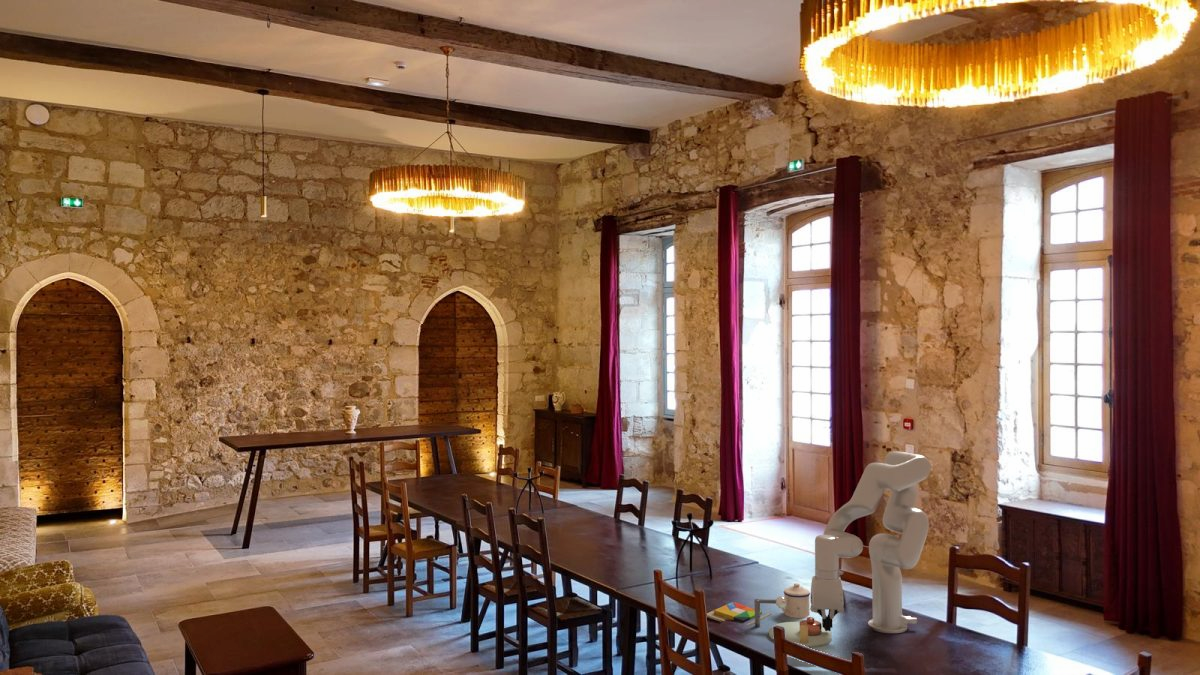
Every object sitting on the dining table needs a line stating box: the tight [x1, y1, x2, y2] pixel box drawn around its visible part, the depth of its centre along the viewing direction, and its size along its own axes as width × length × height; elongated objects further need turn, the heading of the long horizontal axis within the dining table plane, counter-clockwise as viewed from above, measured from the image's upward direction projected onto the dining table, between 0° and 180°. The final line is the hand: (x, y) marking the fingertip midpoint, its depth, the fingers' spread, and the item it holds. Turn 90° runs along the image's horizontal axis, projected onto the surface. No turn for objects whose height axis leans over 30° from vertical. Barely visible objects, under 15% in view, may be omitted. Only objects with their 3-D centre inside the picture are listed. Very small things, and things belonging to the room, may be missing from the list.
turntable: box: [768, 621, 833, 648], centre depth 282 cm, size 20×20×6 cm
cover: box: [799, 616, 822, 636], centre depth 282 cm, size 7×7×5 cm
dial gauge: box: [753, 596, 787, 628], centre depth 292 cm, size 12×5×11 cm, turn 85°
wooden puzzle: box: [706, 601, 772, 627], centre depth 305 cm, size 18×19×4 cm
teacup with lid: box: [780, 582, 811, 619], centre depth 304 cm, size 12×9×12 cm
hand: (827, 629), depth 282 cm, fingers closed
